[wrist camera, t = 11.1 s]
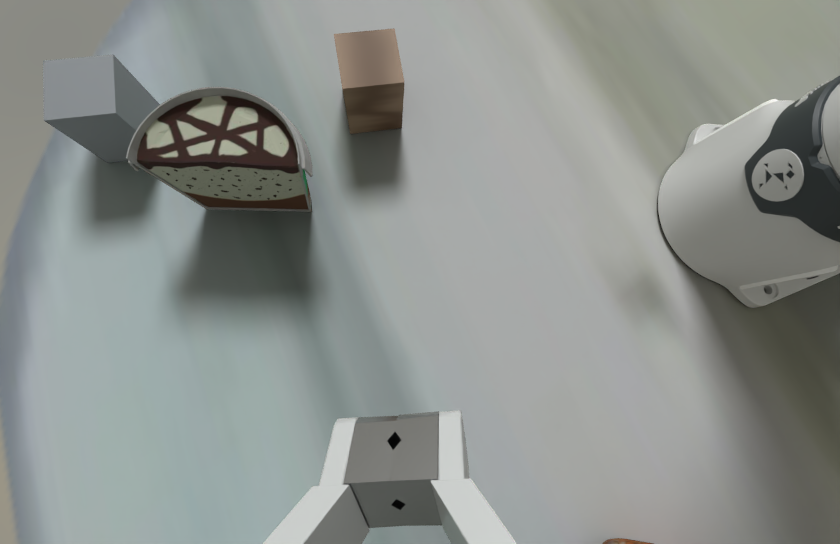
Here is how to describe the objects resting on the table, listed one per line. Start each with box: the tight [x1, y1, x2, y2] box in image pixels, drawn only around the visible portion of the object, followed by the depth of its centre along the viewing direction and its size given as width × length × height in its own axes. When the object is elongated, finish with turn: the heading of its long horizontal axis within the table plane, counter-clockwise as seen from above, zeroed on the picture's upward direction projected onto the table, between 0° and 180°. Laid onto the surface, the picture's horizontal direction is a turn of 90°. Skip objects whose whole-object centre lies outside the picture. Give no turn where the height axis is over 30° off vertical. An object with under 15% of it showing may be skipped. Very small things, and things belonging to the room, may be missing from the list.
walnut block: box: [334, 29, 404, 134], centre depth 36 cm, size 5×5×7 cm
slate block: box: [43, 55, 160, 163], centre depth 34 cm, size 5×5×7 cm
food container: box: [126, 87, 313, 212], centre depth 33 cm, size 12×6×10 cm, turn 90°
